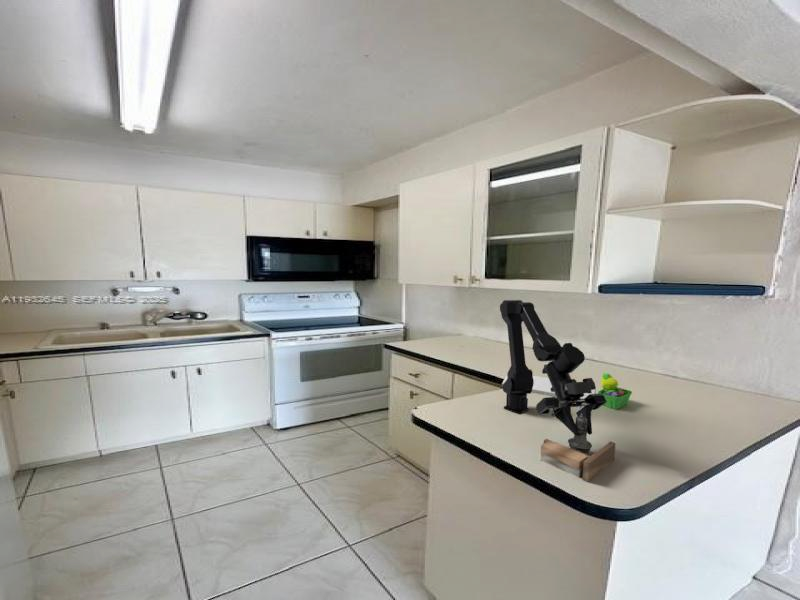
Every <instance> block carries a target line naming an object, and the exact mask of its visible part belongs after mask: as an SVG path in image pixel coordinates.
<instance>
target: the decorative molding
mask: <svg viewBox="0 0 800 600" xmlns="http://www.w3.org/2000/svg"><path fill="white" fill-rule="evenodd" d="M506 380H507V375H505V378H504V379H503V381H502V383H501V386H502V385H503V384H504V383H505V381H506ZM533 380H534V384H533V388H532V391H531V393H534V394H539V395H543V396H544V395H545V396H548V397H556V395H555V392H551V388H552V385H551V382H550V380H549V378H548V377H545V376H544V377H543V376H538V375H533ZM502 388H503V386H502ZM591 392H592V393H584V396H583V397H580V399H584V398H586V397H587V396H588V395H589V394H597V393H596V392H597V387H596V388H595V390H591ZM556 398H557V397H556Z"/></svg>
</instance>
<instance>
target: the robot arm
mask: <svg viewBox="0 0 800 600" xmlns="http://www.w3.org/2000/svg"><path fill="white" fill-rule="evenodd" d="M499 305H500V306H499V311H500V313H501V319H502V320H503V321H504V323H505V325H507V334H508V335H507V336H508V337H507V338H508V346H509V358H510V367H509V370H507V373H506V376H507V380H506V381H505V383H504V384H503V385H502V384H501V386H503V387H502V391H503V392H504V393H505V394H506V403H505V404H506V405H505V406H503V409H505V410H507V411H509V412H513V413H515V414H522V413H524V412H526V411H528V410H529V409H530V408H529V407H528V405H529V404H528V403H529V399H528V395H530V394H532V392H531V391H532V388H533V384H534V380H533V376H534V375H533V374H534V373H533V371H532V369H530V368H529V367H528V366H527V365H526V363H527V362H526V357H525V356H526V355H525V346H524V336H523V335H524V334H523V327H522V323H523V324H524V326H525V328H526V329H527V331H528V333H529V336H530V337H531V339H532V342H533V343H532V351H533V354H534V356H535V359H536V360H537V361H538V362H542V363H543V362H548V363H547V364H544V365H543V368H542V371H541V373H542V374H546V375H547V378H549V380H550V382H551V385H552V388H551V392H555V395H556V397H554V396H548V397H543V398H542V399H541V400H540V401H539V402H538V403H536V406H535V407H536V408H535V410H536V412H537V415H538V416H543V415H548V414H549V412H550V411H551V410H552V413H551V416H552V418H553V417H554V418H556V419H557V420H559V422H561V423H562V424H563V425H564V426H565V427H566V428H568V430H569V431H570V432H571V433H572V434H573V436H574V435H575V436H578V435H579V433H578V429H577V427H576V424H575V422H576V421H575V420H574V417H573V414H572V409H571V408H576V409H577V411H576V412H575V414H576V417H577V416H581V415H580V414H581V413H582V414H583V416H584V417H585V418H586V419H587V430H588V432H587V434H588V435H592V434H593V427H592V411H595V410H598V409H599V408H601V407H602V405H604V404H605V403H606V402H607V401H606V399H605V397H604V395H602V394H600V393H599V394H598V393H596V394H589V395H588V396H587V397H586V398H584V399H580V397H583V396H584V393H592V392H591V390H595V388H596V389H597V385H596V383H595V381H594V380H593V378H592V377H587V378H583V379H582V381H577V380H576V378H572V376H571V375H570V374H572V373H573V372H574V371H575V370H576V369H577V368H578V367H580V365H582V364H583V363H584V361H585V358H586V357H585V354H584V352H583V351H581V350H580V349H579V348H578V347H577V346H574V345H573V343H572V342H565V343H564V344H563V345H561V343H560V342H559V341H558V340H557V339H556V337H554V336H552V335H551V334H549V333H548V331H547V330H546V327H545V326H544V324H543V322H542V320H541V318H540V317H539V315H538V313H537V311H536V310H535V305H534V304H533V303H532V302H531V301H530V302H528V301H526V302H523V301H522V300H521V299H510V300H509V299H504V300H503V301H502V303H500V304H499Z"/></svg>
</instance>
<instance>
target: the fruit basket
mask: <svg viewBox="0 0 800 600" xmlns="http://www.w3.org/2000/svg"><path fill="white" fill-rule="evenodd" d="M600 379H601V383H600V384H601V385H600V386H601V388H602V389H600V390H599V391H597V394H599V393H600V394H602V395H604V397H605V399H606V401H607V402H606V403H605V404H604V405H602V406H603V407H606V408H609V409H613V410H615V411H616V410H617V409H620V408H621V407H624V406H625V405H628V402H629V400H630V397H631V395H632V394H633V391H631V390H628V389H626V388H622V387H618V385H619V382H618V380H617V379H615V377H613V376H612V375H611V374H610V373H609V372H603V373H602V375H601V378H600ZM602 406H601V407H602Z"/></svg>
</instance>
